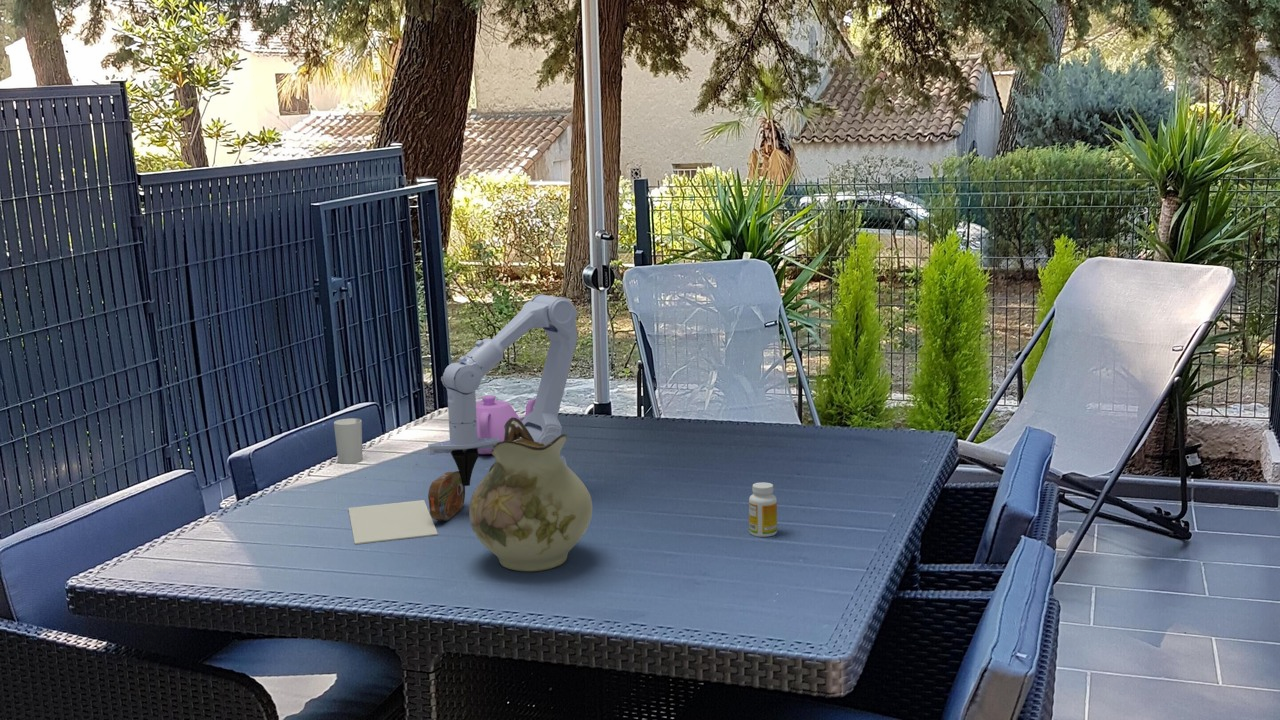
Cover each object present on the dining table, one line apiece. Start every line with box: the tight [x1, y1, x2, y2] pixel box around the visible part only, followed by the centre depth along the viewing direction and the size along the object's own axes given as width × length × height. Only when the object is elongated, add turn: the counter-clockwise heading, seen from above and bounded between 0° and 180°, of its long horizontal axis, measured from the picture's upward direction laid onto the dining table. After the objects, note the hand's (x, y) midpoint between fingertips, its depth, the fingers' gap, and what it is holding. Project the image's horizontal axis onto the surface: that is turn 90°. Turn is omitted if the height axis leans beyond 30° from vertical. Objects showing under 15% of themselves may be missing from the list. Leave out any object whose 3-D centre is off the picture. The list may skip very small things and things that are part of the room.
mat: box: [348, 499, 439, 545], centre depth 238 cm, size 16×24×1 cm, turn 17°
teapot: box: [476, 394, 536, 455], centre depth 294 cm, size 22×22×14 cm
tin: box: [427, 470, 466, 521], centre depth 241 cm, size 15×3×8 cm, turn 169°
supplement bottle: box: [748, 481, 778, 538], centre depth 226 cm, size 5×5×10 cm
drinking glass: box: [333, 417, 363, 465], centre depth 286 cm, size 7×7×10 cm
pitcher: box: [468, 417, 593, 572], centre depth 212 cm, size 22×24×25 cm
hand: (465, 484), depth 242 cm, fingers closed
